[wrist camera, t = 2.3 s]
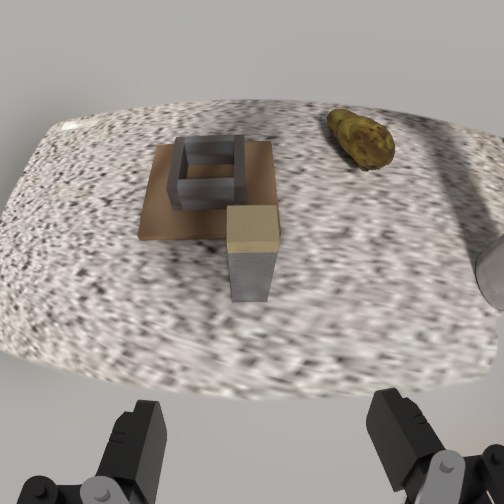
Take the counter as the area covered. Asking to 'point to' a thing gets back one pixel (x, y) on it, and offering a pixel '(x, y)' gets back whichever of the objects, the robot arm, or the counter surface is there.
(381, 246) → the counter surface
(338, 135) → the potato
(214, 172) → the well board
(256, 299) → the tall square pillar
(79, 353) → the counter surface
